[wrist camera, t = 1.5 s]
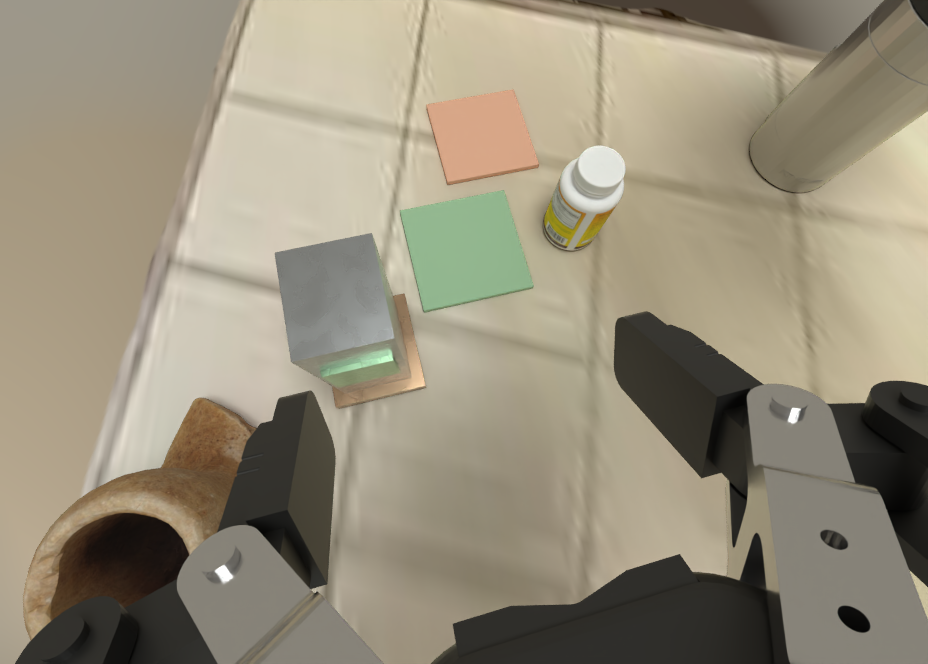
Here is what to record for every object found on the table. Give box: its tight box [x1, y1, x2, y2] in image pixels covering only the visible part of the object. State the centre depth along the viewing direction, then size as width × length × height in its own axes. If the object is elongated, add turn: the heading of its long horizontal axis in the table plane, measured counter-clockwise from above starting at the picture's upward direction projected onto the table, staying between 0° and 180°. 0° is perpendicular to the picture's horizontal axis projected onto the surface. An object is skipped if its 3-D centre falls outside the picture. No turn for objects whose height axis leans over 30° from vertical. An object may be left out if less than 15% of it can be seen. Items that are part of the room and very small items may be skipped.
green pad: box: [400, 190, 534, 312], centre depth 44 cm, size 11×11×1 cm
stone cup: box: [23, 398, 256, 640], centre depth 29 cm, size 15×12×15 cm
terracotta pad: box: [426, 89, 539, 185], centre depth 47 cm, size 10×10×1 cm
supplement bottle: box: [543, 146, 626, 250], centre depth 40 cm, size 6×6×10 cm
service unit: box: [275, 233, 426, 409], centre depth 33 cm, size 9×8×15 cm
